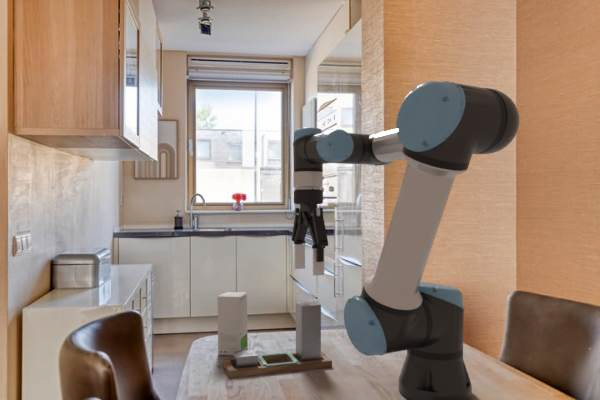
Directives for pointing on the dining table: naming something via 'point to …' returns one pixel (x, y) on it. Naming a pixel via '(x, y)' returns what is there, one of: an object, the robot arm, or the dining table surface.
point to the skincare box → (232, 323)
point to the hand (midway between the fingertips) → (308, 271)
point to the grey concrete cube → (245, 359)
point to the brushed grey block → (308, 331)
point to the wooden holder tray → (266, 368)
